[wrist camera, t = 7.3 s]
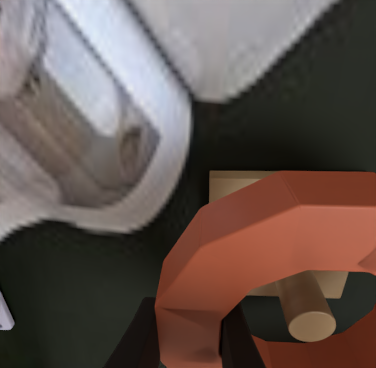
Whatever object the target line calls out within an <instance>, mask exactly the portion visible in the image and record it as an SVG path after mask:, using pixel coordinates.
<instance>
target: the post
mask: <svg viewBox="0 0 376 368" xmlns="http://www.w3.org/2000/svg"><path fill="white" fill-rule="evenodd" d="M275 172H278V171H210V172H209V203H211V202H214V201H216V200H218V199H220V198H222V197H224V196H226V195H229V194H231V193H233V192H235V191H237V190H239V189H241V188H243V187H246V186H248V185H250V184H252V183H254V182H256V181H258V180H261V179H263V178H265V177H267V176H269V175H271V174H273V173H275ZM347 275H348V271H319V270H306V271H303V272H300V273H297V274H294V275H291V276H289V277H286V278H283V279H280V280H277V281H274V282H272V283H269V284H266V285H263V286H260V287H258V288H255V289H252V290H251V291H250V292H249V293H248V294H247V295H257V296H279V299H280V302H281V306H282V309H283V313H284V316H285V320H286V323H287V327H288V330H289V333H290V334H291V335H292V336H293V337H294V338H296V339H298V340H301V341H306V342H314V341H319V340H323V339H325V338H327V337H328V336H330V335H331V334H332V333H333V332H334V330H335V328H336V321H335V319H334V317H333V314H332V312H331V310H330V308H329V306H328V304H327V301H326V299H325V298H340V297H341V294H342V291H343V288H344V285H345V282H346V278H347Z"/></svg>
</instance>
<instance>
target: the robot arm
mask: <svg viewBox="0 0 376 368" xmlns="http://www.w3.org/2000/svg"><path fill="white" fill-rule="evenodd" d="M155 301H156V298H153V297H145V298H144V299H143V300H142V302H141V305H140V307H139V309H138V311H137V313H136V314H135V316H134V318H133V320H132V322H131V324H130V325H129V327H128V329H127V331H126V332H125V334H124V336H123V337H122V339H121V341H120V342H119V344H118V345H117V347H116V349H115V350H114V352H113V353H112V355H111V356H110V358H109V359H108V361H107V362H106V364H105V365H104V367H103V368H158V366H159V361H160V350H159V341H158V331H157V322H156V314H155ZM14 324H15V323H14V320H13V318H12V316H11V313H10V311H9V309H8V307H7V305H6V302H5V300H4V298H3V296H2V294H1V291H0V330H10V329H12V327H13V326H14ZM221 350H222V368H266V366H265V364H264V362H263V360H262V357H261V355H260V353H259V351H258V349H257V346H256V344H255V342H254V340H253V337H252V335H251V332H250V330H249V327H248V325H247V322H246V319H245V317H244V314H243V310H242V307H241V303H240V302H239V303H238V304H237V305H236V306H235V307H234V308H233V309H232V310H231V311H230V312H229V313H228V314H227V315H226V316H225V317H224V318H223V319H222V321H221Z"/></svg>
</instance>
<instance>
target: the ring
mask: <svg viewBox="0 0 376 368" xmlns="http://www.w3.org/2000/svg"><path fill="white" fill-rule="evenodd" d="M306 270H319V271H348V272H369V273H371V274H373V275H375V276H376V173H374V172H340V171H278V172H275V173H273V174H271V175H269V176H267V177H265V178H263V179H261V180H258V181H256V182H254V183H252V184H250V185H248V186H246V187H243V188H241V189H239V190H237V191H235V192H233V193H231V194H229V195H226V196H224V197H222V198H220V199H218V200H216V201H214V202H211V203H209V204H207V205H205V206H203V207H202V208H200V209H199V211H198V212H197V214H196V215H195V217H194V218H193V219H192V221H191V222H190V224H189V225H188V227H187V228H186V229H185V231H184V232H183V234H182V235H181V237H180V238H179V239H178V241H177V242H176V244H175V245H174V247H173V248H172V250H171V251H170V252H169V254H168V255H167V257H166V258H165V260H164V261H163V266H162V271H161V276H160V281H159V286H158V291H157V296H156V301H155V314H156V322H157V331H158V341H159V350H160V360H161V362H162V363H163V364H164V365H165V366H166V367H167V368H222V350H221V321H222V319H223V318H224V317H225V316H226V315H227V314H228V313H229V312H230V311H231V310H232V309H233V308H234V307H235V306H236V305H237V304H238V303H239V302H240V301H241V300H242V299H243V298H244V297H245V296H246V295H247V294H248V293H249V292H250V291H251V290H252V289H255V288H258V287H260V286H263V285H266V284H269V283H272V282H274V281H277V280H280V279H283V278H286V277H289V276H291V275H294V274H297V273H300V272H303V271H306ZM252 337H253V340H254V342H255V344H256V346H257V349H258V351H259V353H260V355H261V357H262V360H263V362H264V364H265V366H266V368H376V304H375V306H374V309H373V310H372V311H371V312H370V313H368V314H367V315H366V316H364V317H363V318H362V319H360V320H359V321H358V322H356V323H355V324H354V325H352V326H351V327H350V328H348V329H347V330H346V331H344V332H343V333H340V334H336V335H332V336H329V337H327V338H325V339H323V340H319V341H314V342H307V343H290V342H269V341H264V340H262V339H260V338H257V337H255V336H253V335H252Z"/></svg>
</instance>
